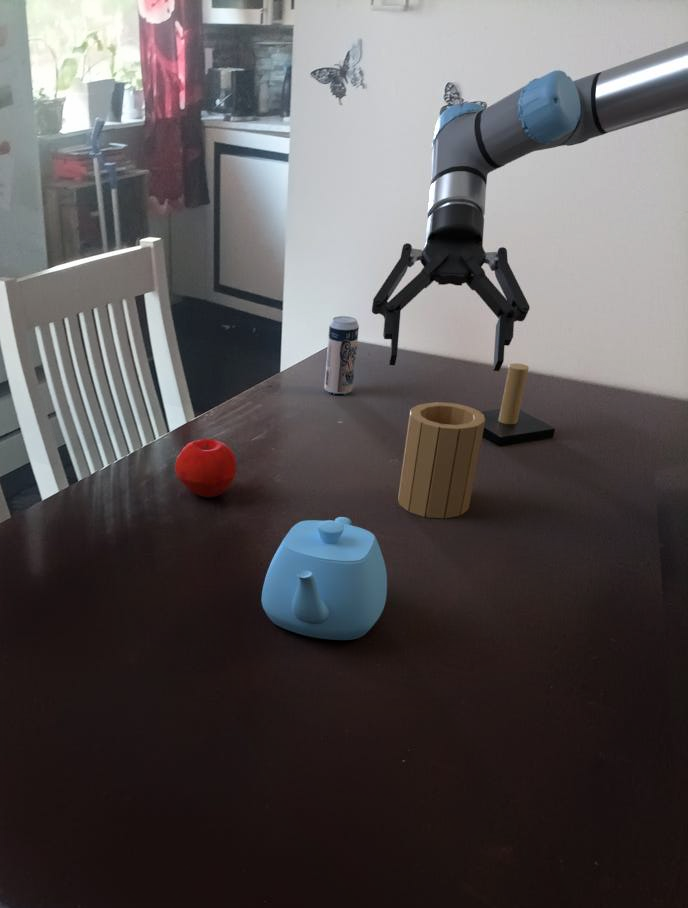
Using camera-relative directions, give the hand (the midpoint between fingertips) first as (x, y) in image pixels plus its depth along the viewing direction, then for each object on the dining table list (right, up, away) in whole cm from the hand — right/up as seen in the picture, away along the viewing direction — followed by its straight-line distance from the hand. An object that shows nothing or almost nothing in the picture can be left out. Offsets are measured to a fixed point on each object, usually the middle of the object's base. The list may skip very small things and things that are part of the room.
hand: (445, 363), depth 118 cm
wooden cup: (-2, -18, 0) cm, 18 cm away
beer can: (-9, +6, +36) cm, 37 cm away
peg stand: (+15, -4, +21) cm, 26 cm away
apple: (-32, -17, +2) cm, 36 cm away
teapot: (-19, -35, -23) cm, 46 cm away
